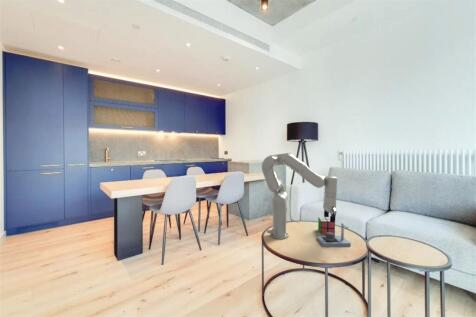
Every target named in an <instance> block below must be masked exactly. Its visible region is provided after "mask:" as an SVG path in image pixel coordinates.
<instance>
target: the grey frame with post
mask: <svg viewBox="0 0 476 317" xmlns="http://www.w3.org/2000/svg"><path fill="white" fill-rule="evenodd" d="M340 228H341V230H340V235H335V242H327V243H326V242H325V235H316V240H317V241H318V242H319V244H321V246H322V247H323V248H324V247H327V248H328V247H351V244H352V242H350V241H349V240H348V239H347V238H346V237H345V229H346V230H348V229H349V226H346V225H345V223H344V222H341V225H340Z"/></svg>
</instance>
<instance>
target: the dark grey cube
mask: <svg viewBox="0 0 476 317" xmlns="http://www.w3.org/2000/svg"><path fill="white" fill-rule="evenodd" d="M324 236H325V240H324V241H325V242H326V243H327V242H336V241H335V236H336V233H335V234H334V233H332V232H326V233H325V234H324Z"/></svg>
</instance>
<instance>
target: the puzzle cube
mask: <svg viewBox="0 0 476 317" xmlns="http://www.w3.org/2000/svg"><path fill="white" fill-rule="evenodd" d="M317 222H318V224H317V228H318V229H317V230H318V232H319V233H320V235H325V233H326V232H332V233H334V234H335V235H336V221H335V222H330V217H324V216H321V217H320V216H319V217H318V219H317Z"/></svg>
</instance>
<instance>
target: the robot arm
mask: <svg viewBox="0 0 476 317" xmlns="http://www.w3.org/2000/svg"><path fill="white" fill-rule="evenodd" d="M283 165H285V166H286V167H288V168H289V169H290V170H292V171H294V172H295V173H296V174H298V175H299V176H300V177H301V178H302V179H304V180H305V181H306V182H308V183H309V184H311V185H312V186H313V187H315V188H317V189H321V188H323V187H324V197H323V204H322V209H323V217H327V218H330V222H335V223H336V216H337V212H338V210H337V194H338V193H337V192H338V188H337V187H338V177H336V176H332V175H321V174H317V173H316V172H314V171H313V170H312V169H310V168H309V166H308V165H307V164H306V163H305V162H303V161H302V160H301V159H299V158H298V157H296V156H295V155H294V154H293V153H292V152H286V153H278V154H270V155H268V156H266V157H265V158H264V159H263V161H262V164H261V171H262V174H263V176H264V180H265V182H266V185H267V188H268V189H269V191H270V192H271V193H273V196H272V199H271V201H272V202H271V204H272V228H271V229H266V233H267V234H270V237H272V238H274V239H276V240H277V239H278V240H284V239H287V238H288V237H289V234H288V233H287V206H286V204H287V202H288V199H289V196H288V194H287V191H286V189H285V185H284V183H283V181H282V179H280V178H278V177H277V174H276V171H275V169H274V167H276V166H283Z"/></svg>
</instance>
